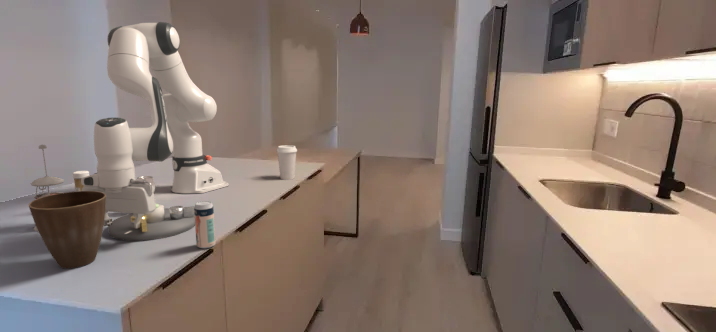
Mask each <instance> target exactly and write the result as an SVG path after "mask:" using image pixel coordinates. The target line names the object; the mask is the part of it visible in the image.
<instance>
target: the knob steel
mask: <svg viewBox="0 0 716 332" xmlns="http://www.w3.org/2000/svg"><path fill="white" fill-rule="evenodd" d="M194 207H195V205H194V206H193V205H192V206H183V205H174V206H171V207H168V208H169V211H170V218H171V219H180V218H183V217H184V216H193V215H194Z"/></svg>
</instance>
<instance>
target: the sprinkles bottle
mask: <svg viewBox="0 0 716 332" xmlns="http://www.w3.org/2000/svg"><path fill="white" fill-rule="evenodd" d="M87 176H90V171H89V170H77V171H74V172H72V177H73V180H74V190H75V191H74V192H77V191H82V188H83V187H84V186H83V185H82V184H81V179H82V178H84V177H87Z"/></svg>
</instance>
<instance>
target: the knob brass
mask: <svg viewBox="0 0 716 332" xmlns="http://www.w3.org/2000/svg"><path fill="white" fill-rule="evenodd" d="M135 218H136V217H134V215H133V216H131V222H134V220H135ZM140 224H141V226H140V227H139V229H140V230H141V231H142V232H146V231H147V217H146V215H145V214H143V217H142V219H141V221H140ZM131 226H132V225H131ZM135 229H136V228H135Z"/></svg>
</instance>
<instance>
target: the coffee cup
mask: <svg viewBox="0 0 716 332" xmlns="http://www.w3.org/2000/svg"><path fill="white" fill-rule="evenodd" d="M297 152H298V149H297V148H296V145H291V144H290V145H289V144H288V145H285V144H284V145H278V146H277V148H276V153H277V159H278V168H279V178H280V180H283V181H289V180H293V179H295V177H296V176H295V174H296V161H297Z"/></svg>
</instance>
